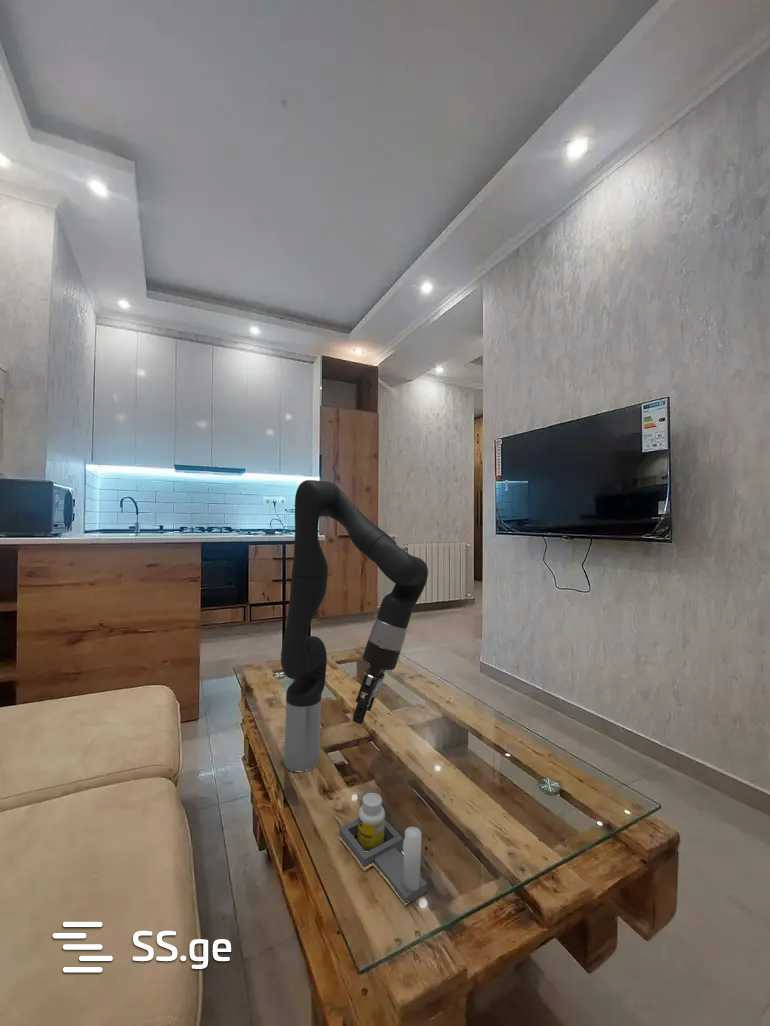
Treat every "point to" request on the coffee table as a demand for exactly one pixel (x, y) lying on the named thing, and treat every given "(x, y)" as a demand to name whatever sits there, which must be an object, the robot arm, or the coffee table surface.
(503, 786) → the coffee table surface
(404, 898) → the grey square holder tray
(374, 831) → the supplement bottle
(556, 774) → the coffee table surface
